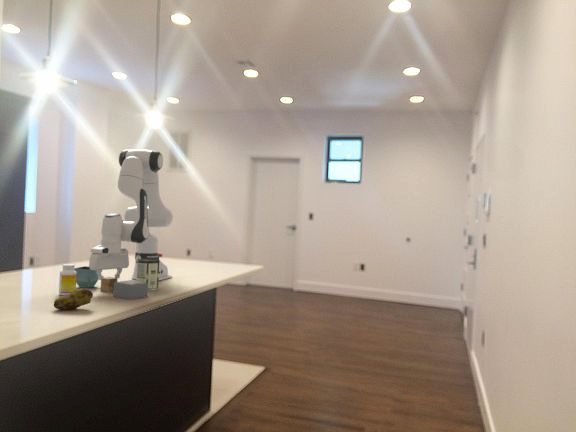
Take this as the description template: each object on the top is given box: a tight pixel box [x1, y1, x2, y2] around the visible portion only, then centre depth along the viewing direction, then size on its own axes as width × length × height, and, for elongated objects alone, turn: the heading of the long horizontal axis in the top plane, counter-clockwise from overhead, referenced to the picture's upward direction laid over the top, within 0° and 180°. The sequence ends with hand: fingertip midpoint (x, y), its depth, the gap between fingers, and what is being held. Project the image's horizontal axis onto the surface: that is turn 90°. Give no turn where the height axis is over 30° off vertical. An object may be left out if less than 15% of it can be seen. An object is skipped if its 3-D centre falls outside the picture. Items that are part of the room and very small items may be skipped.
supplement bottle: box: [58, 263, 77, 296], centre depth 211 cm, size 7×7×13 cm
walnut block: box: [100, 276, 119, 293], centre depth 225 cm, size 5×5×6 cm
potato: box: [53, 287, 94, 311], centre depth 184 cm, size 8×13×8 cm, turn 99°
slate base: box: [112, 279, 149, 301], centre depth 214 cm, size 10×10×6 cm
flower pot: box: [74, 266, 99, 289], centre depth 232 cm, size 9×9×9 cm
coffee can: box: [136, 259, 161, 292], centre depth 235 cm, size 10×10×14 cm
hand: (109, 279), depth 224 cm, fingers open, 8 cm apart
